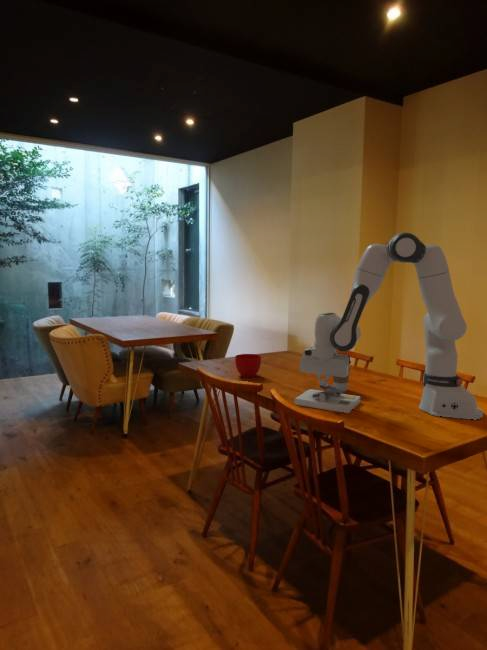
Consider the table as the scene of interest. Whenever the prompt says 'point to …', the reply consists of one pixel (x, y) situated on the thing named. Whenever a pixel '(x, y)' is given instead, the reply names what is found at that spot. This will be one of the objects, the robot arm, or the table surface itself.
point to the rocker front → (327, 393)
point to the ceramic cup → (248, 364)
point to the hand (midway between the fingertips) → (323, 384)
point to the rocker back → (331, 388)
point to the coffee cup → (341, 381)
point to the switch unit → (328, 401)
